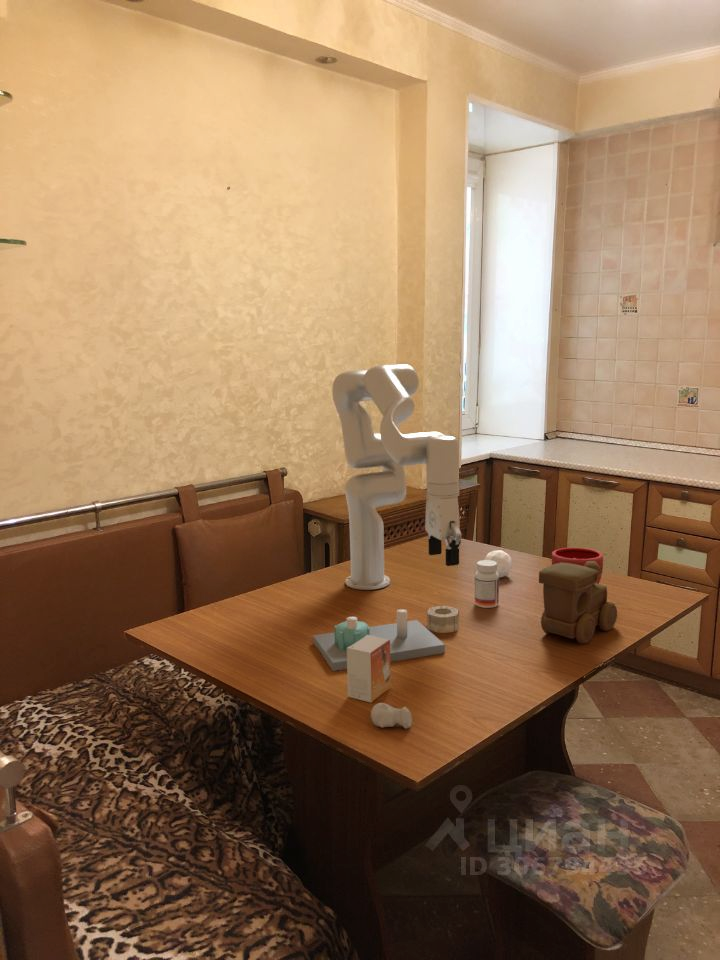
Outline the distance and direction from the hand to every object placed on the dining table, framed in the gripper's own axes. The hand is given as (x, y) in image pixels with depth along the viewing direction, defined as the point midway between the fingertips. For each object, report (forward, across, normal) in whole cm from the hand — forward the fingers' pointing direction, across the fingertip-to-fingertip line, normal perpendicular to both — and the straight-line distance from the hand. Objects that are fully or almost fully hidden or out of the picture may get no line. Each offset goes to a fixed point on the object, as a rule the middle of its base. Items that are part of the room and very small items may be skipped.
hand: (443, 559), depth 188 cm
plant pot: (+17, -8, +42) cm, 46 cm away
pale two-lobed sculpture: (+18, +40, -29) cm, 52 cm away
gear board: (+17, +6, -19) cm, 26 cm away
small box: (+18, +26, -28) cm, 42 cm away
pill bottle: (+17, -10, +17) cm, 26 cm away
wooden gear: (+17, 0, 0) cm, 17 cm away
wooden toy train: (+18, +14, +28) cm, 36 cm away
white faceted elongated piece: (+17, -32, +31) cm, 47 cm away
